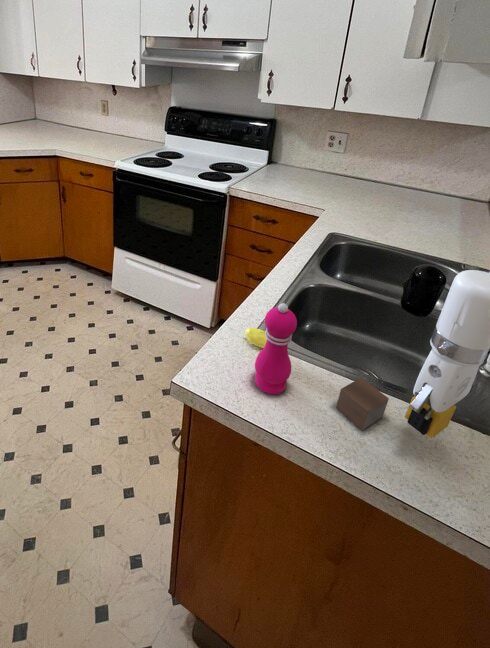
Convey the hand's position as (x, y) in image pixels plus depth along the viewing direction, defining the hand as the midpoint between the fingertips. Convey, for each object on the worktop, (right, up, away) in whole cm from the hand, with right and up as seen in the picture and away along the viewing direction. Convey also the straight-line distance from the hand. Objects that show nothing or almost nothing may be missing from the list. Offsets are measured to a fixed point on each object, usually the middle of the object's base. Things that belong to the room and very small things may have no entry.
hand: (426, 421), depth 76 cm
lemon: (-25, +7, +23) cm, 34 cm away
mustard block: (0, 0, 0) cm, 0 cm away
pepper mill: (-25, +2, +12) cm, 28 cm away
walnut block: (-10, -1, +6) cm, 11 cm away
